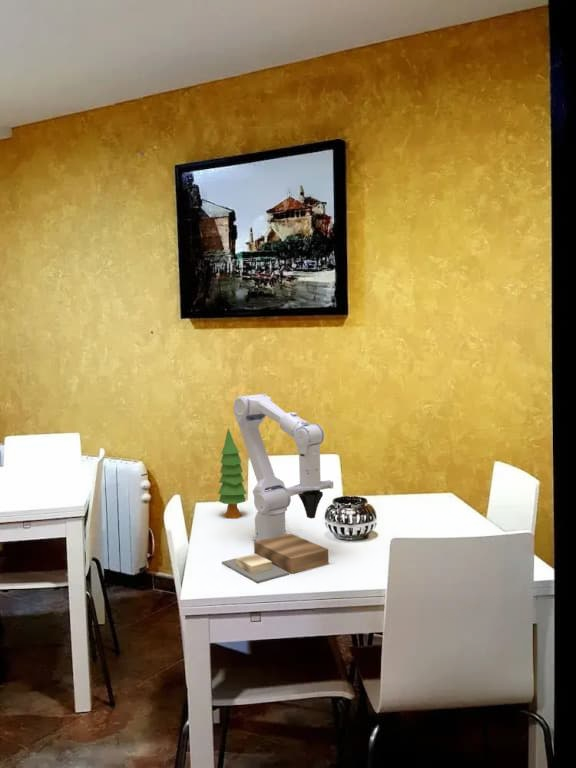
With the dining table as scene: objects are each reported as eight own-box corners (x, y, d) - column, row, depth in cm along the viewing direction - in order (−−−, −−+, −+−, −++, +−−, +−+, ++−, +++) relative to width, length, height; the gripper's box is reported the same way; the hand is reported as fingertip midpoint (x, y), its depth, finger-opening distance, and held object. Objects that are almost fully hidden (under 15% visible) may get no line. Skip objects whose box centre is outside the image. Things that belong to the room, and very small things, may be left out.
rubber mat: (221, 563, 189) (221, 561, 189) (252, 556, 194) (252, 554, 194) (257, 583, 174) (257, 581, 174) (289, 574, 179) (289, 572, 179)
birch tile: (255, 553, 188) (255, 560, 189) (236, 558, 185) (236, 565, 185) (271, 561, 182) (272, 569, 182) (252, 566, 178) (252, 574, 179)
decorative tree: (216, 519, 232) (213, 429, 229) (222, 511, 241) (219, 424, 238) (245, 519, 230) (242, 429, 227) (250, 511, 239) (248, 424, 237)
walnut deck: (254, 555, 194) (254, 541, 194) (290, 546, 201) (289, 533, 201) (291, 573, 180) (291, 558, 179) (328, 563, 186) (328, 549, 186)
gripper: (296, 475, 185) (297, 525, 186) (339, 467, 193) (340, 516, 194) (281, 470, 191) (282, 519, 192) (324, 463, 199) (325, 510, 200)
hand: (310, 517), depth 193 cm, fingers closed
